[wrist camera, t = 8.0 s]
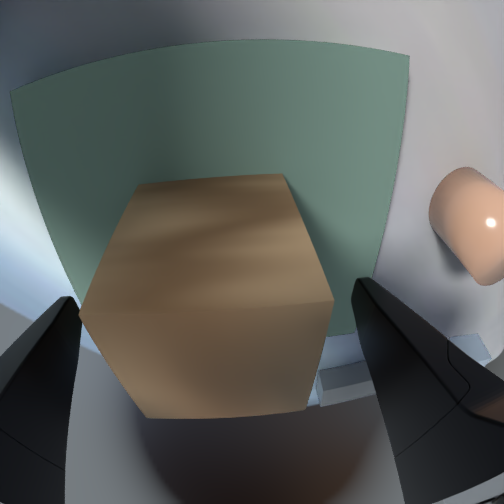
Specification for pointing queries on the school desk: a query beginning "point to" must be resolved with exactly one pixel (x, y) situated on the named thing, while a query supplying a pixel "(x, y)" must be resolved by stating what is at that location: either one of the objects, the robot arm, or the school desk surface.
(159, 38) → the school desk surface
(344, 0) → the school desk surface
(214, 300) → the walnut block
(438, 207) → the peach rounded cylinder
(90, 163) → the mat
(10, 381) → the robot arm
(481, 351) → the eraser block
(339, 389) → the gray rectangular block
